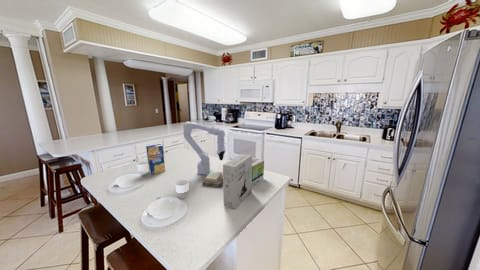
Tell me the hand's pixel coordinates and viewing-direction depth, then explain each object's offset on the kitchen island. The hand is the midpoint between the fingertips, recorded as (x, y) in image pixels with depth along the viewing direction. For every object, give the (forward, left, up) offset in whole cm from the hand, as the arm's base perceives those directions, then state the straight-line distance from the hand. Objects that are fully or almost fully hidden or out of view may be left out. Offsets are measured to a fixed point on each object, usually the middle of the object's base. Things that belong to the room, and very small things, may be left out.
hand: (221, 159), depth 147 cm
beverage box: (-52, -14, -10) cm, 54 cm away
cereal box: (+23, -37, -10) cm, 45 cm away
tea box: (+28, -12, -10) cm, 32 cm away
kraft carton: (+1, -19, -10) cm, 21 cm away
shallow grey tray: (+2, -20, -9) cm, 22 cm away
